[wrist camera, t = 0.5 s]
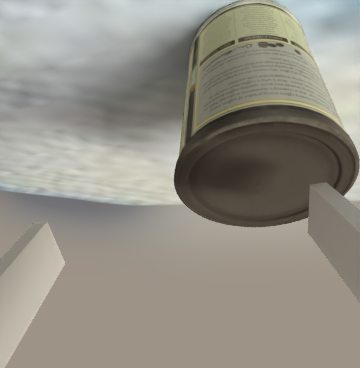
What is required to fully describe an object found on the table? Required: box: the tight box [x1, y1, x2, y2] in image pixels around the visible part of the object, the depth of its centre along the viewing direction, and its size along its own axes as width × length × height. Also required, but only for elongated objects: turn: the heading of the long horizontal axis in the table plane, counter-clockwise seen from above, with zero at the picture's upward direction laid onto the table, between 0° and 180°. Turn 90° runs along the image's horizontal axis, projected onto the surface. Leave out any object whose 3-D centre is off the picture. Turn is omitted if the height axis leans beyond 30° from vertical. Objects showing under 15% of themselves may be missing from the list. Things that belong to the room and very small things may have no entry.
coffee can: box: [174, 0, 359, 227], centre depth 20 cm, size 10×10×14 cm
